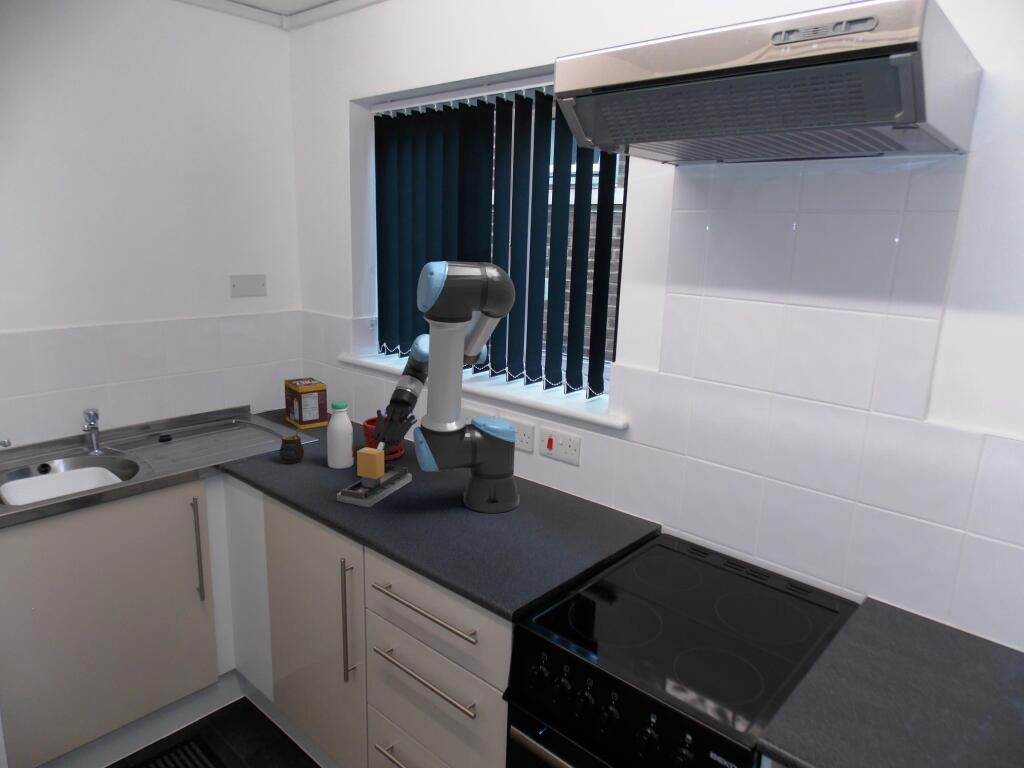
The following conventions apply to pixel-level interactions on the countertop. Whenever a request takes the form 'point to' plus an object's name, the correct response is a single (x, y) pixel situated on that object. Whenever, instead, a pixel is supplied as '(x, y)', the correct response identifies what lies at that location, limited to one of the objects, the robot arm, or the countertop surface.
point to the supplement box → (306, 402)
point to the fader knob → (370, 466)
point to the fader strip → (376, 487)
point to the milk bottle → (340, 437)
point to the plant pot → (371, 443)
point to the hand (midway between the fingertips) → (375, 464)
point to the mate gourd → (291, 449)
